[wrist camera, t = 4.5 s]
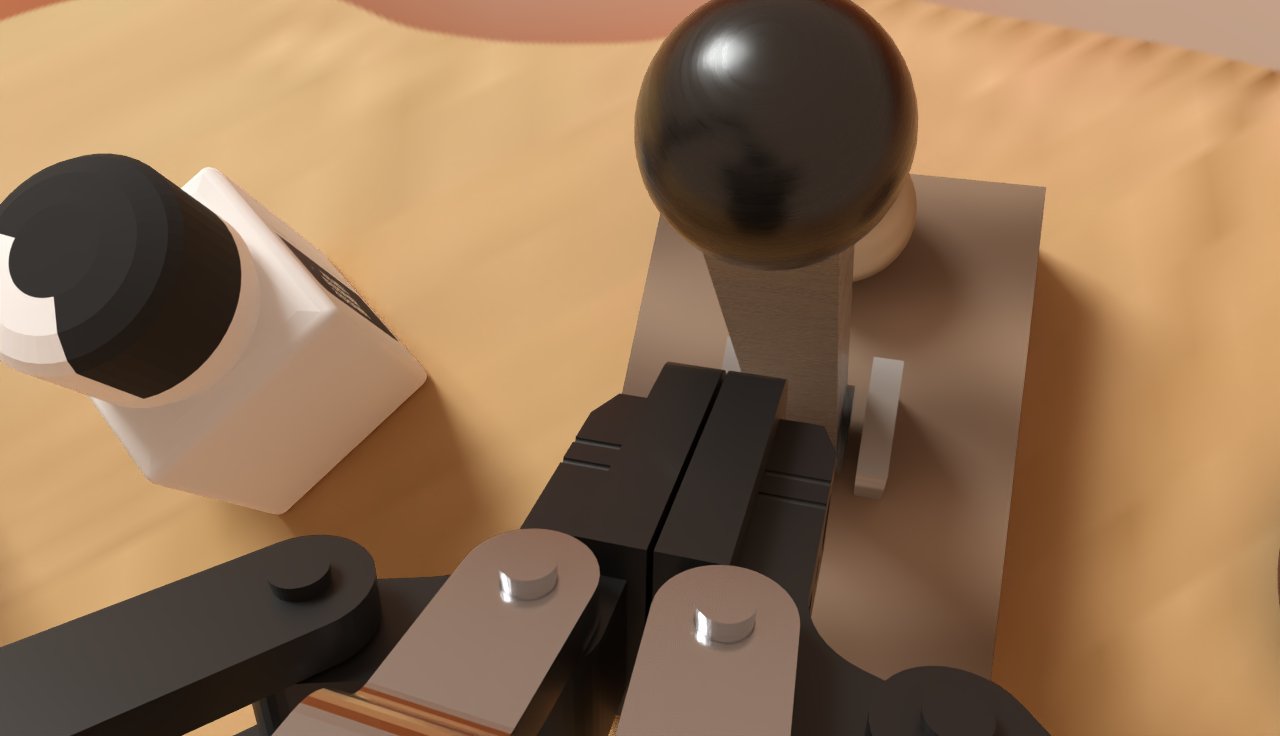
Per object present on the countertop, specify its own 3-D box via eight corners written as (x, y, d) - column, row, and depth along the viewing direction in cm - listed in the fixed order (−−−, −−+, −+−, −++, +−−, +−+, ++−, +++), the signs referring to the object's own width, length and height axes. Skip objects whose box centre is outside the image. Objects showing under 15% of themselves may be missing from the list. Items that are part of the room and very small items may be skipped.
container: (320, 249, 40) (93, 68, 28) (434, 378, 38) (240, 243, 25) (176, 380, 40) (-120, 256, 27) (281, 520, 37) (8, 453, 25)
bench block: (960, 776, 31) (1004, 818, 23) (589, 690, 33) (512, 701, 25) (1023, 238, 35) (1078, 114, 27) (689, 202, 38) (651, 80, 30)
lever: (859, 502, 29) (907, 215, 10) (739, 481, 30) (577, 180, 11) (876, 385, 30) (950, -79, 11) (759, 368, 31) (641, -91, 12)
